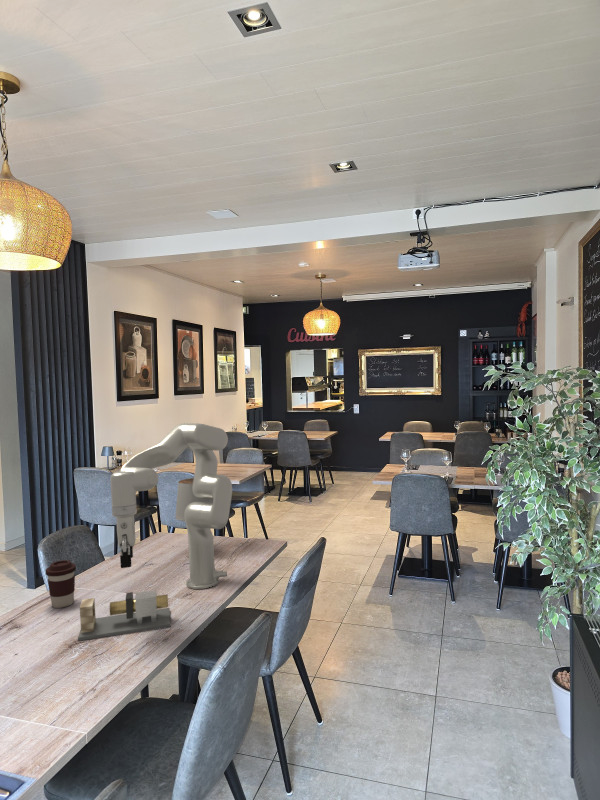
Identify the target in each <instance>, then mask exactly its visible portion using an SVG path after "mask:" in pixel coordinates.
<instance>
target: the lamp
mask: <svg viewBox="0 0 600 800" xmlns="http://www.w3.org/2000/svg"><path fill="white" fill-rule="evenodd" d="M193 481H194V477H191V478H184V479H181V480H178V484H177V495H176V505H175V506H176V507H175V516H174V517H175V520H177V521H181V522H185V518H184V512H185V509H186V507H187V506H188V505H189V504H190V503H193V502H208V503H213V499H204V498H198V497H196V496H195V495H194V494H193Z"/></svg>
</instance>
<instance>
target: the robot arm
mask: <svg viewBox="0 0 600 800" xmlns="http://www.w3.org/2000/svg"><path fill="white" fill-rule="evenodd" d="M228 442H229V438H228V434H227V432H226V431H225V430H224V429H222V428H220V427H216V426H212V425H208V424H204V423H194V422H193V423H191V422H190V423H186V422H185V423H179V424H177V425H176V426H175V427H173V428H172V429H171V430H170V431H169V432H168V433H167V434H166V435H165V436H164V437H163V438H162V439H161V440H160V441H159V442H158V443H157V444H156V445H153V446H150V447H149V448H148V449H147V448H146V449H145V450H144V451H142V452H139V453H137V454H136V455H134V456H133V457H131V458H130V459H128V461H126V463H125V464H124V465H122V467H121V468H120V469H119V471H115V472H113V473H112V474H111V475H110V493H111V494H110V495H111V513H112V515H111V516H112V517H113V518H116V533H117V534H116V535H117V543H118V545H117V546H118V548H119V549H120V555H119V558H120V568H121V569H125V568H131V567H132V558H133V557H134V549H133V547H135V545H136V527H135V523H136V522H135V516H134V515H137V513H138V512H137V511H138V510H137V492H145V491H150V490H152V489H154V488H155V487H156V486H157V485H158V482H159V474H158V473H157V471H156V470H154V469H156V468H160V467H163V466H166V465H170V464H172V463H174V462H175V461H176V460H177V459H178V457H180V455H181V454H183V452H184V451H185V450H187V448H190V449H191V451H192V453H193V456H194V458H195V469H194V476H193V478H194V481H193V494H194V495H195V496H196V497H198V498H204V499H213V503H208V502H193V503H190V504H189V505H188V506H187V507H186V509H185V512H184V518H185V521H184V522H185V526H186V530H187V538H188V539H187V540H188V558H189V559H188V562H189V578H188V579H187V580H186V587H188V588H189V589H193V590H204V589H210V588H212V586H213V587H215V586H217V585H218V584H219V583H220V578H225V577H228V572H227V571H228V570H226V571H224V570H222V569H221V570H216V568H215V552H214V551H215V548H214V547H215V546H214V535H213V532H212V530H211V529H213V530H214V529H215V530H221V529H223V528H225V526H226V525H227V523H228V522H229V516H230V509H231V505H232V504H231V503H232V497H233V496H232V495H233V484H232V481H231V479H230V477H228V476H227V475H224V474H218V464H219V463H218V458H217V455H216V453H215V452H214V451H217V452H218V451H221V450H224V449H225V448H226V447H227V444H228ZM209 587H210V588H209Z"/></svg>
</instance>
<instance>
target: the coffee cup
mask: <svg viewBox="0 0 600 800" xmlns="http://www.w3.org/2000/svg"><path fill="white" fill-rule="evenodd" d="M76 570H77V565H76V563H74V562H72V561H71V560H69V559H65V560H63V559H62V560H58V561H53V562H51V563H50V565H49V566H48V567H47V568H46V569H45V575H46V576H47V584H48V586H47V587H48V592H49V596H50V602H51V606H52V608H56V609H60V608H61V609H62V608H66V607H68V606H71V605H72V604H74V603H75V601H74V600H75V587H76V586H75V585H76V584H75V582H76V580H75V579H76V574H75V571H76Z"/></svg>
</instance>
